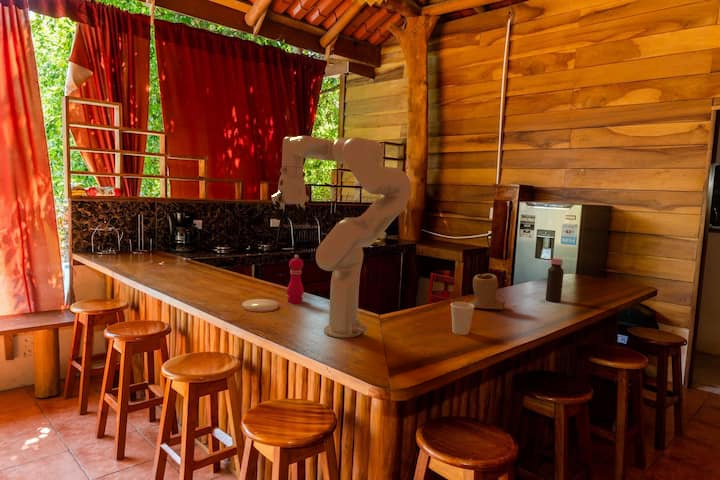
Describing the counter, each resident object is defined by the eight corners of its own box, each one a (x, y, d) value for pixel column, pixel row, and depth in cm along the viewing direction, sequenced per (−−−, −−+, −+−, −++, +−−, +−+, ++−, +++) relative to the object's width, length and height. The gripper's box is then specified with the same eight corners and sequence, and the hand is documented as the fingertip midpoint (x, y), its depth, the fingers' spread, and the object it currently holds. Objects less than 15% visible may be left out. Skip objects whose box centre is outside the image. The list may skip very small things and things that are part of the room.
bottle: (558, 299, 229) (562, 258, 226) (562, 303, 222) (566, 260, 220) (543, 298, 229) (547, 257, 227) (547, 302, 223) (551, 259, 220)
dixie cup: (455, 327, 174) (457, 300, 172) (476, 332, 168) (478, 305, 167) (444, 332, 167) (446, 304, 166) (465, 337, 162) (468, 309, 161)
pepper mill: (306, 300, 202) (307, 254, 200) (299, 304, 196) (301, 256, 193) (290, 298, 204) (292, 252, 202) (283, 302, 197) (284, 254, 195)
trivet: (285, 306, 191) (285, 302, 191) (262, 313, 179) (262, 309, 179) (258, 300, 198) (258, 297, 198) (234, 307, 186) (234, 303, 186)
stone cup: (469, 310, 200) (471, 275, 198) (468, 303, 211) (471, 270, 210) (506, 314, 197) (509, 278, 195) (504, 307, 208) (507, 273, 206)
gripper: (280, 171, 161) (278, 221, 163) (316, 173, 174) (314, 220, 177) (266, 170, 166) (264, 219, 168) (302, 173, 179) (300, 218, 181)
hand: (289, 219), depth 172 cm, fingers open, 9 cm apart
